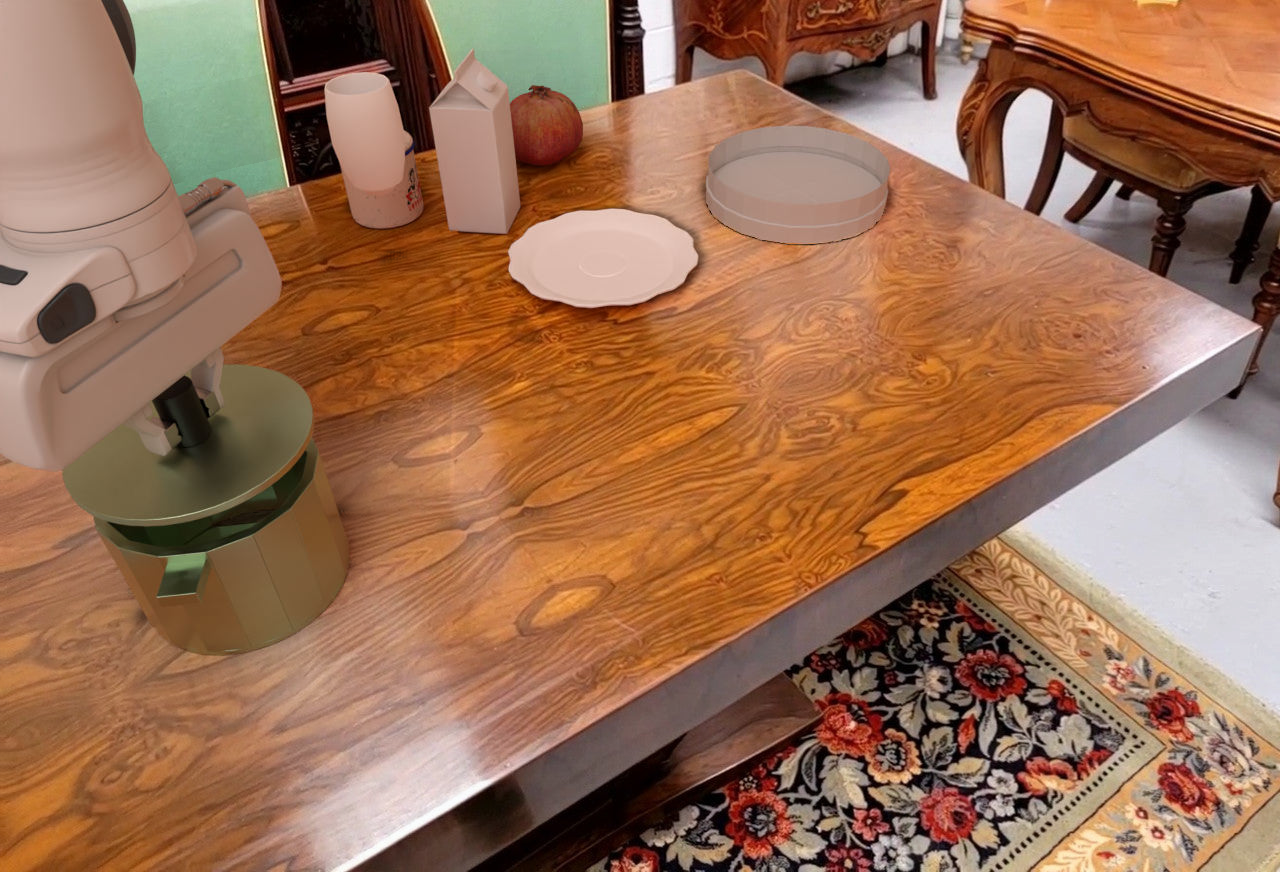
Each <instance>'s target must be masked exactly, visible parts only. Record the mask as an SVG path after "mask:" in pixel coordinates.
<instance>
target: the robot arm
mask: <svg viewBox="0 0 1280 872" xmlns="http://www.w3.org/2000/svg"><path fill="white" fill-rule="evenodd" d="M136 41H137V40H136V34H135V28H134V25H133V21H132V18H131V14H130V12H129V10H128V7H127V5H126V3H125V1H124V0H0V455H1V456H3V458H5V459H7V460H9V461H11V462H13V463H15V464H18V465H20V466H22V467H27V468H30V469H33V470H39V471H42V472H49V473H60V472H63V470H64V469H65V468H67V467H68V466H69V465H71V464H72V463H73V462H74V461H76V460H77V459H78V458H79V457H81V456H82V455H83V454H84V453H86V452H87V451H88V450H90V449H91V448H92V447H93V446H95V445H96V444H97V443H98V442H100V441H101V440H102V439H104V438H105V437H106V436H107V435H109V434H110V433H111V432H112V431H114V430H115V429H116V428H118V427H119V426H120V425H121V424H122V425H124V426H126V427H128V428H130V429H132V430H134V431H137V432H138V434H139V436H140V438H141V440H142V442H143V444H144V446H145V447H146V448H147V449H148V450H149V451H150V452H152V453H155V454H158V455H162V456H166V455H167V454H168V453H169V452H170V451H172V450H173V449H174V448H175V447H176V446H178V445H179V444H180V443H181V442H182V437H181V436H180V435H178V428H177V426H176V424H175V423H174V422H171V421H162V419H161V418H157V417H152V418H151V419H150V420H147V419H146V417H147V418H148V417H149V416H151V415H152V413H153V411H152V409H151V407H150V404H149V402H151V401H152V400H153V399H155V398H156V397H157V396H158V395H160V394H161V393H162V392H163V391H165V390H166V389H167V388H169V387H170V386H171V385H172V384H174V383H175V382H176V381H178V380H179V379H180V378H181V377H183V376H184V375H185V374H187V373H188V372H189V371H190V370H191V380H192V382H193V385H194V387H195V389H196V392H197V394H198V397H199V399H200V401H201V404H202V406H203V409H204V411H205V413H206V416H207V418H208V419H209V418H210V417H211V416H212V415H214V414H215V413H216V412H217V411H219V410H220V409H221V408H222V407H224V406H225V401H224V399H223V396H222V393H221V391H220V388H219V386H220V382H221V376H222V369H223V365H224V361H225V356H224V352H223V351H222V348H221V347H223V346H224V345H225V344H226V343H228V342H229V341H230V340H231V339H232V338H234V337H235V336H236V335H238V334H239V333H240V332H241V331H242V330H244V329H245V328H246V327H248V326H249V325H250V324H252V323H253V322H254V321H256V320H257V319H258V318H259V317H261V316H262V315H264V314H265V313H266V312H268V310H270V309H271V308H272V307H273V306H275V305H276V304H277V303H278V302H279V300H280V297H281V293H282V287H283V283H282V278H281V274H280V272H279V269H278V266H277V264H276V261H275V259H274V256H273V254H272V252H271V250H270V248H269V246H268V243H267V242H266V240H265V238H264V236H263V234H262V231H261V230H260V228H259V226H258V225H257V223H256V221H255V220H254V219H253V218H252V214H251V211H250V207H249V204H248V201H247V197H246V195H245V193H244V191H243V189H242V188H241V187H240V186H238V185H237V184H236V183H235V182H234V181H231V180H228V179H220V178H218V177H211V178H208V179H205V180H203V181H202V182H200V183H199V184H197V186H196V187H195V188H193V189H192V190H190V191H188V192H184V193H183V194H180V195H178V193H177V190H176V187H175V185H174V181H173V179H172V176H171V174H170V170H169V168H168V167H167V165H166V164H165V163H166V162H164V160H163V158H162V157H161V156H160V154H159V153H158V152H157V151H156V149H155V148H154V146H153V144H152V142H151V140H150V138H149V135H148V133H147V131H146V128H145V127H146V126H145V122H144V106H143V99H142V96H141V91H140V90H139V87H138V84H137V81H136V79H135V72H136V62H137V61H136V60H137V42H136Z"/></svg>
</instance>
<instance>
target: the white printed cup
mask: <svg viewBox="0 0 1280 872" xmlns="http://www.w3.org/2000/svg"><path fill="white" fill-rule="evenodd" d="M404 140H405V164H404V172H403V179H402V181H401V182H400V183H399V184H397V185H395V187H394V189H393V190H392V191H391V192H390V193H388V194H386V195H382V196H371V195H368V194H367V193H366V192H364V191H363V190H360V189H357V188H355V187H354V186H353V185H352V184H351V182H350V180H349V179H348V177H347V175H346V174H345V172H344V170H343V169H342V167H341V165H340V164H339V167H340V170H341V174H342V178H343V183H344V188H345V191H346V196H347V199H348V204H349V208H350V212H351V216H352V219H353V220H354V221H355V223H357V224H358V225H360V226H361V227H365V228H369V229H379V230H381V229H382V230H385V229H393V228H398V227H401V226H404V225H407V224H409V223H412V222H413V221H415V220H417V219H418V218H419V217H420V216H421V215H422V213H423V211H424V200H423V194H422V190H421V189H422V188H421V183H420V179H419V173H418V168H417V162H416V156H415V151H414V148H415V141H414V139H413V137H412V135H411V134H410V133H409V132H408V131H406V130H404ZM334 154H335V156H336V158H337V159H338V157H337V155H336V153H335V152H334Z"/></svg>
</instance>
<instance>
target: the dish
mask: <svg viewBox="0 0 1280 872" xmlns="http://www.w3.org/2000/svg"><path fill="white" fill-rule="evenodd" d="M707 169H708V170H707V172H708V174H707V175H706V176H705V177H706V179H705V204H706V203H707V205H708V207H709V209H710V211H711V213H712V214H713V215H715V216H716V217H717V218H718V219H719V220H720V221H721V222H722V223H723V224H725V225H727V226H729V227H731V228H733V229H735V230H736V231H738V232H740V233H743V234H746V235H749V236H753V237H755V238H759V239H761V240H760V241H762V240H769V241H775V242H780V243H782V242H784V243H797V244H798V243H802V244H806V243H807V244H808V243H812V244H813V243H819V242H826V241H834V240H838V239H842V238H844V237H848V236H853V235H856V234H858V233H861V232H862V231H864V230H866V229H868V228H869V227H871V226H873V225H874V224H875V223H876V222H877V221H878V219H880V218H881V216H882V215H883V216H884V213H885V210H886V207H885V206H887V201H888V194H889V187H888V184H889V180H890V179H889V178H890V175H891V166H890V162H889V159H888V157H887V156H885V154H884V153H883V152H882V151H881V150H880V149H879V148H877V146H875V145H873V144H871V142H868V141H866V140H865V139H862V138H860V137H857V136H854V135H852V134H849V133H846V132H843V131H838V130H834V129H829V128H824V127H815V126H808V125H775V126H765V127H764V126H763V127H758V128H752V129H749V130H745V131H741V132H737V133H735V134H733V135H730V136H728V137H726V138H725V139H722V141H720V142H719V143H717V144H716V145H715V146H714V147H713V148H712V150H711V151H710V152H709V154H708V168H707ZM709 209H708V210H709ZM884 209H885V210H884ZM710 211H709V212H710ZM883 212H884V213H883ZM711 213H710V214H711ZM749 236H748V237H749ZM755 238H754V239H755ZM780 243H779V244H780Z"/></svg>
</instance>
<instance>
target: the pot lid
mask: <svg viewBox="0 0 1280 872" xmlns="http://www.w3.org/2000/svg"><path fill="white" fill-rule="evenodd" d="M219 388H220V391H221V393H222V396H223V399H224V401H225V406H224V407H222V408H221V409H220V410H219V411H217V412H216V413H215V414H214V415H212V416H211V417H210V418H209V419H208V418H207V416H206V413H205V411H204V409H203V406H202V404H201V401H200V399H199V397H198V394H197V392H196V389H195V387H194V385H193V382H192V380H191V370H190V371H189V372H188V373H187V374H185V375H184V376H183V377H181V378H180V379H179V380H178V381H176V382H175V383H174V384H172V385H171V386H170V387H169V388H167V389H166V390H165V391H163V392H162V393H161V394H160V395H158V396H157V397H156V398H155V399H153V400H152V401H151V402H149V404H150V407H151V409H152V411H153V413H152V415H151V416H149V417H148V418H147V417H146V419H147V420H150V419H151V418H152V417H157V418H161V419H162V421H171V422H174V423H175V424H176V426H177V428H178V435H180V436H181V437H182V442H181V443H180V444H179V445H178V446H176V447H175V448H174V449H173V450H172V451H170V452H169V453H168V454H167V455H166V456H162V455H158V454H155V453H152V452H150V451H149V450H148V449H147V448H146V447H145V446H144V444H143V442H142V440H141V438H140V436H139V434H138V432H137V431H134V430H132V429H130V428H128V427H126V426H124V425H122V424H121V425H120V426H119V427H118V428H116V429H115V430H114V431H112V432H111V433H110V434H109V435H107V436H106V437H105V438H104V439H102V440H101V441H100V442H98V443H97V444H96V445H95V446H93V447H92V448H91V449H90V450H88V451H87V452H86V453H84V454H83V455H82V456H81V457H79V458H78V459H77V460H76V461H74V462H73V463H72V464H71V465H69V466H68V467H67V468H65V469H64V470H62V480H63V483H64V487H65V489H66V490H67V492H68V493H69V495H70V497H71V499H72V500H73V502H75V504H76V505H77V506H78V507H79V508H80V509H81V510H83V511H85V512H86V513H87V514H89V515H91V516H95V517H97V518H100V519H102V520H105V521H109V522H112V523H116V524H122V525H129V526H164V525H171V524H178V523H184V522H188V521H193V520H197V519H201V518H204V517H207V516H211V515H214V514H217V513H220V512H222V511H225V510H227V509H230V508H232V507H234V506H237V505H239V504H241V503H243V502H245V501H247V500H249V499H251V498H252V497H254V496H256V495H257V494H259V493H261V492H262V491H264V490H265V489H267V488H268V487H269V486H271V485H272V484H274V483H275V482H276V481H278V480H279V479H280V478H281V477H282V476H283V475H284V474H286V473H287V472H288V471H289V470H290V469H291V468H292V467H293V465H294V464H295V463H296V462H297V461H298V460H299V458H300V457H301V456H302V454H303V453H304V451H305V450H306V448H307V446H308V444H309V442H310V440H311V437H312V438H313V433H314V430H315V421H316V420H315V411H314V406H313V404H312V402H311V399H310V396H309V395H308V393H307V392H306V390H305V389H304V388H303V387H302V386H301V385H300V384H299V383H298V382H297V381H295V380H294V379H293V378H291V377H290V376H288V375H286V374H284V373H282V372H280V371H276V370H274V369H270V368H266V367H262V366H258V365H250V364H223V369H222V376H221V382H220V386H219Z"/></svg>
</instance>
